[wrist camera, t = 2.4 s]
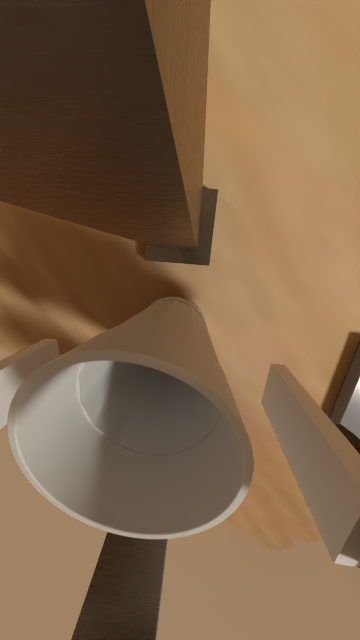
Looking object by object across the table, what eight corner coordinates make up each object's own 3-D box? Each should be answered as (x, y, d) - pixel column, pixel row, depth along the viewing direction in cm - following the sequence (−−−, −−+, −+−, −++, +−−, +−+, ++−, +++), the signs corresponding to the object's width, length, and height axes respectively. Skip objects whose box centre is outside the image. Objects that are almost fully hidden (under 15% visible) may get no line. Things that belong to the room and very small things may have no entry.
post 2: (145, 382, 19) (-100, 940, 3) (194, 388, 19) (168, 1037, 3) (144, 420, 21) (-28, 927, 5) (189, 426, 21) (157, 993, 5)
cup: (120, 347, 19) (-6, 486, 7) (149, 271, 16) (27, 299, 5) (193, 380, 19) (184, 564, 7) (233, 311, 16) (312, 429, 5)
